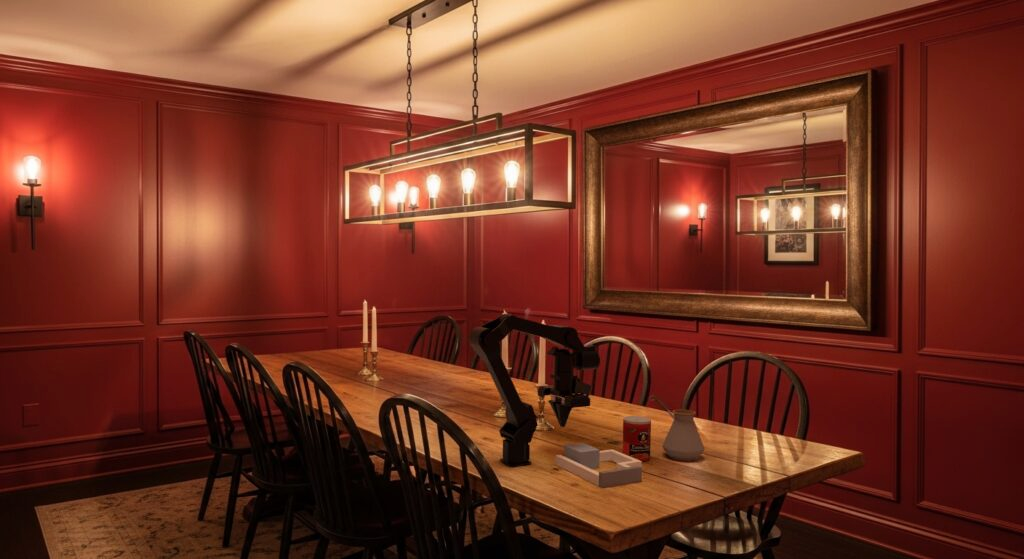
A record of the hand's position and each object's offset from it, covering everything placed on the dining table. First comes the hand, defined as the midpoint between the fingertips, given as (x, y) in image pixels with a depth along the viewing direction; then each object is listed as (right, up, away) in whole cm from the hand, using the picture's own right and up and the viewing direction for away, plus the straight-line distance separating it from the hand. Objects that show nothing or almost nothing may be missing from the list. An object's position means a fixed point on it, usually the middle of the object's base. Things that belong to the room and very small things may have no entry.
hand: (562, 426), depth 199 cm
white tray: (+10, -9, -13) cm, 19 cm away
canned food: (+21, -9, 0) cm, 22 cm away
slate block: (+4, -9, -8) cm, 13 cm away
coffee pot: (+32, -9, +6) cm, 34 cm away
